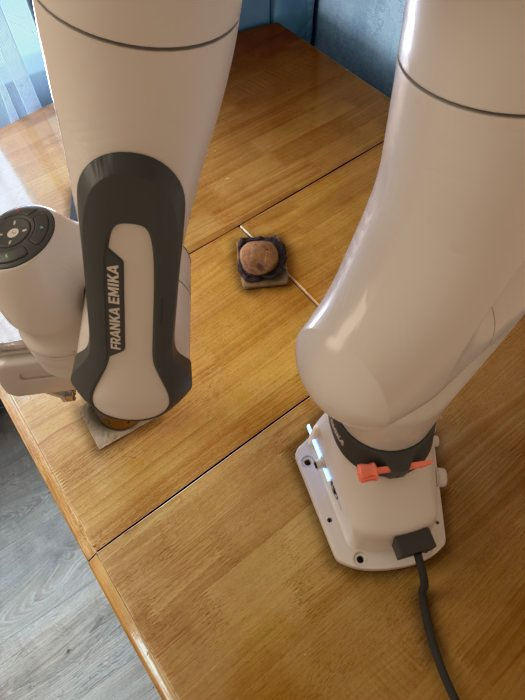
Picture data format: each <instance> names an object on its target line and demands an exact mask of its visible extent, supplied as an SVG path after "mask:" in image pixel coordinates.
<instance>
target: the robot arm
mask: <svg viewBox="0 0 525 700" xmlns="http://www.w3.org/2000/svg"><path fill="white" fill-rule="evenodd" d="M31 2H32V6H33V7H32V8H33V13H34V18H35V24H36V29H37V33H38V38H39V44H40V49H41V53H42V59H43V62H44V67H45V72H46V77H47V83H48V86H49V91H50V95H51V99H52V103H53V108H54V112H55V116H56V120H57V124H58V125H57V126H58V130H59V134H60V139H61V143H62V149H63V153H64V158H65V164H66V169H67V175H68V179H69V185H70V189H71V194H73V199H74V203H75V208H76V213H77V218H78V222H77V221H74V220H71V219H70V217H68V216H65V215H64V214H62V213H60V212H58V211H57V210H55V209H53V208H51V207H48V206H45V205H41V204H25V205H20V206H17V207H14V208H12V209H9V210H7V211H5V212H3V213H1V214H0V314H2V315H3V318H4V319H6V321H7V322H8V323H9V324H10V325H11V326H12V327H14V329H16V330H18V334H19V336H20V338H19V339H11V340H6V341H0V386H1V388H2V389H3V390H4V392H5V393H6V394H8V395H10V396H14V397H25V396H33V395H41V394H46V395H49V396H51V397H55V398H60V400H61V401H62V402H63V403H71V402H75V401H76V400H77V397H76V396H77V393H78V395H79V396H80V397H81V398H82V399H83V400H84V402H85V403H88V404H89V405H90V406H91V407H92V408H93V409H95V410H96V411H97V412H99V413H100V414H102V415H104V416H106V417H109V418H112V419H116V420H120V421H131V422H136V421H146V420H151V419H153V420H154V419H157V418H159V417H161V416H163V415H164V414H166V413H167V412H169V411H170V410H172V409H173V408H174V407H175V406H176V405H178V404H179V403H180V402H181V401H182V400H183V399H184V398H185V397H186V396H187V395H188V393H189V392H190V391H191V390H192V388H193V369H192V360H191V313H192V312H191V311H192V309H191V307H192V306H191V305H192V303H191V301H192V267H191V266H192V259H191V256H190V253H189V251H188V250H187V248H186V247H185V245H184V243H185V239H186V235H187V231H188V226H189V222H190V219H191V218H190V217H191V215H192V212H193V208H194V204H195V201H196V196H197V192H198V189H199V185H200V182H201V178H202V173H203V170H204V167H205V164H206V159H207V156H208V153H209V149H210V145H211V141H212V138H213V135H214V133H215V132H214V131H215V128H216V124H217V121H218V118H219V115H220V111H221V107H222V104H223V100H224V97H225V92H226V88H227V85H228V80H229V76H230V72H231V67H232V62H233V58H234V54H235V48H236V44H237V39H238V33H239V27H240V21H241V13H242V6H243V0H31ZM401 21H402V22H401V28H400V34H399V41H398V47H397V56H396V62H395V63H396V64H395V70H394V78H393V83H392V90H391V95H390V102H389V108H388V115H387V121H386V127H385V133H384V138H383V143H382V144H383V145H382V151H381V157H380V160H379V165H378V166H379V167H378V170H377V173H376V178H375V180H374V183H373V187H372V189H371V192H370V195H369V198H368V200H367V203H366V206H365V208H364V210H363V213H362V215H361V217H360V220H359V222H358V224H357V226H356V229H355V231H354V234H353V236H352V238H351V241H350V243H349V245H348V248H347V250H346V252H345V254H344V256H343V258H342V261H341V263H340V266H339V267H338V269H337V272H336V273H335V275H334V278H333V280H332V282H331V283H330V286H329V288H327V290H326V293H325V294H324V295H323V297H322V299H321V301H320V302H319V304H318V305H317V307H316V308H315V310H314V311H313V313H312V314H311V315H310V317H309V318H308V320H307V321H306V322H305V323H304V325H303V326H302V328H301V329H300V331H298V333H297V334H296V335H297V336H296V338H295V345H294V346H295V350H294V351H295V354H294V355H295V356H294V357H295V364H296V369H297V373H298V376H299V378H300V381H301V385H302V386H303V388H304V389H305V391H306V393H307V395H308V396H309V398H310V399H311V400H312V402H314V404H315V405H317V407H318V408H319V409H320V410H322V412H324V413H323V414H322V415H321V416H320V418H319V419H318V420H317V421H316V422H315V424H314V425H313V427H311V425H310V423H308V424H307V425H306V428H307V432H308V433H309V436H308V438H306V440H304V441H303V442H302V443H301V444H300V445H299V446H298V447H297V449H296V451H295V453H294V459H295V463H296V465H297V467H298V470H299V473H300V475H301V477H302V480H303V482H304V485H305V487H306V488H305V489H306V490H307V492H308V495H309V498H310V501H311V503H312V506H313V508H314V510H315V513H316V515H317V518H318V520H319V522H320V525H321V528H322V531H323V533H324V535H325V538H326V540H327V543H328V545H329V548H330V551H331V554H332V556H333V557H334V559H335V561H336V562H337V563H338V564H340V565H343V566H345V567H347V568H349V569H354V570H357V571H363V572H385V571H395V570H399V569H404V568H405V569H406V568H409V567H413V566H416V569H417V573H418V578H419V585H418V588H417V593H418V601H419V602H418V603H419V607H420V613H421V619H422V623H423V628H424V631H425V635H426V640H427V642H428V646H429V649H430V653H431V655H432V658H433V661H434V664H435V667H436V669H437V673H438V675H439V678H440V680H441V683H442V684H443V687H444V689H445V692H446V694H447V696H448V697H449V700H461V698H460V697H459V695H458V693H457V691H456V689H455V687H454V684H453V682H452V680H451V677H450V675H449V672H448V670H447V668H446V664H445V662H444V659H443V657H442V654H441V650H440V647H439V644H438V641H437V637H436V634H435V631H434V627H433V624H432V618H431V612H430V607H429V602H428V594H427V593H428V590H429V588H430V584H429V583H430V582H429V576H428V571H427V567H426V564H425V562H426V561H427V560H429V559H431V558H433V557H434V556H435V555H437V554H438V552H440V551H441V550H442V548H443V547H444V546H445V544H446V542H447V541H446V530H445V521H444V512H443V505H442V496H441V489H440V488H445V487H447V485H448V472H447V470H446V469H445V467H438V464H437V455H436V448H437V447H439V445H440V438H439V436H438V435H435V434H436V433H437V426H438V419H439V418H440V417H441V415H442V414H443V413H444V411H445V410H446V408H448V406H449V404H450V403H451V402H452V401H453V400H454V398H456V396H457V395H458V394H459V393H460V392H461V390H463V388H464V387H465V386H466V385H467V384H468V382H469V381H470V379H472V378H473V377H474V375H475V374H476V373H477V372H478V370H479V369H480V368H481V367H482V366H483V365H484V364H485V363H486V361H487V360H488V359H489V358H490V356H491V355H492V354H494V352H495V351H496V350H497V348H498V347H499V346H500V345H501V344H502V342H503V341H504V340H505V339H506V338H507V336H508V335H509V334H510V333H511V331H512V330H513V329H514V328H515V327H516V326H517V324H518V323H519V322H520V320H521V319H522V318H523V317H524V316H525V0H405V2H404V9H403V15H402V20H401ZM151 421H152V420H151ZM305 462H309V463H310V464H309V465H307V464H306V463H305ZM329 520H330V522H329ZM358 558H361V559H362V562H358Z"/></svg>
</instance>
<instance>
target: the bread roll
mask: <svg viewBox="0 0 525 700" xmlns="http://www.w3.org/2000/svg"><path fill="white" fill-rule="evenodd" d="M235 246H236V259H237V272H238V274H239V278H240V281H241V285H242V288H243V289H244V290H249V289H257V288H264V287H277V286H284V285H285V286H286V285H289V281H290V280H289V279H290V278H289V271H288V270H289V269H288V263H287V260H288V256H287V247H286V245H285V243H284V242H281V239H280V237H279V236H277V235H276V234H275V235H273V236H266V237H265V236H262V235H259V236H254V237H253V236H250V237H249V236H248V237H240V238H239V239H238V240H237V241H236V244H235Z"/></svg>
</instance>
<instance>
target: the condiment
mask: <svg viewBox="0 0 525 700" xmlns="http://www.w3.org/2000/svg"><path fill="white" fill-rule="evenodd" d="M77 410H78V412H79V414H80V416H81V418H82V420H83V421H84V424H85V425H86V427H87V429H88V431H89V433H90V435H91V437H92V439H93V441H94V443H95V445H96V447H97V449H98V450H102V449H103V448H105V447H106V446H109V445H111V444H112V443H113V442H116V441H117V440H119V439H121V438H123V437H124V436H127V435H128V434H130V433H132V432H133V431H135V430H137V429H139V428H141V427H142V426H144V425H146V424H147V423H150V422H151V421H153V420H154V419H151V420H146V421H136V422H131V421H120V420H116V419H112V418H109V417H106V416H104V415H102V414H100V413H99V412H97V411H96V410H95V409H93V408H92V407H91V406H90V405H89V404H88V403H87V402H85V403H83V404H82V405H80V406H78V407H77Z"/></svg>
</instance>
